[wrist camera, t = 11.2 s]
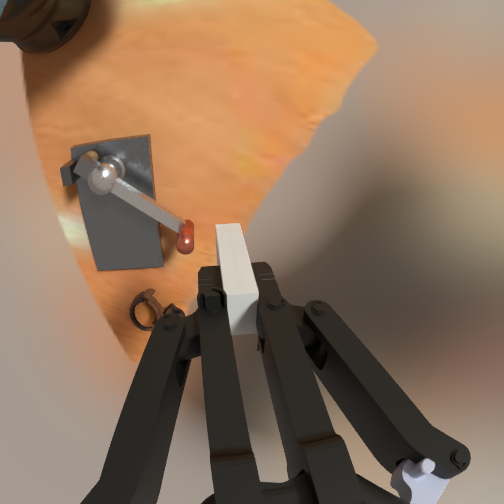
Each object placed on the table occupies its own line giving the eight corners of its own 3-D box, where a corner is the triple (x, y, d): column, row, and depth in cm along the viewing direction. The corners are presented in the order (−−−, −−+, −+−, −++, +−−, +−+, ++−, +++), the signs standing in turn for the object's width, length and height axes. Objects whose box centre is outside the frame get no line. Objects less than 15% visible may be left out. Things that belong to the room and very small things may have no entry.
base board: (74, 145, 41) (57, 156, 35) (150, 134, 43) (142, 142, 37) (100, 264, 54) (91, 286, 48) (164, 260, 56) (161, 282, 51)
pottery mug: (146, 322, 65) (129, 334, 57) (141, 284, 64) (123, 292, 56) (192, 325, 64) (180, 339, 56) (188, 284, 63) (175, 294, 55)
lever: (80, 167, 41) (59, 186, 33) (92, 145, 39) (71, 160, 32) (185, 232, 51) (184, 261, 44) (200, 214, 49) (200, 240, 42)
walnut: (85, 150, 40) (80, 154, 38) (99, 148, 40) (94, 151, 38) (88, 164, 41) (82, 169, 39) (101, 162, 42) (96, 167, 40)
